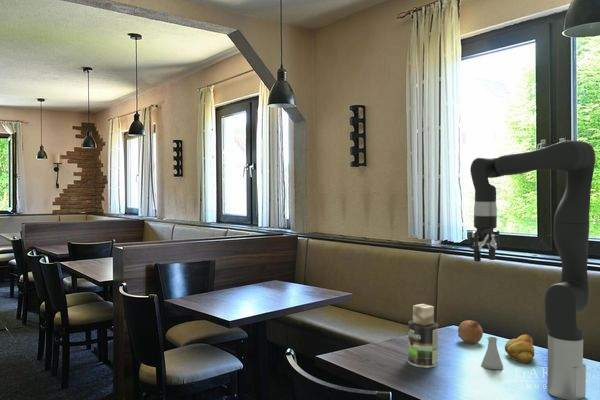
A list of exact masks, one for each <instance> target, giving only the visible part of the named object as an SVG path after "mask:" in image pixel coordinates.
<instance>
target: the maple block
mask: <svg viewBox="0 0 600 400" xmlns="http://www.w3.org/2000/svg"><path fill="white" fill-rule="evenodd" d="M434 308H435V306H433V305H430V304H426V303H420V304H419V303H418V304H415V305H412V320H413V323H417V324H420V325H424V326H425V325H429V324H433V323H434V322H435V321H434V319H435V317H434V316H435V315H434V314H435V313H434V311H435V310H434Z"/></svg>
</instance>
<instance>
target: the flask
mask: <svg viewBox="0 0 600 400" xmlns="http://www.w3.org/2000/svg"><path fill="white" fill-rule="evenodd" d="M487 340H488V341H487V349H486V351H485V354H484V357H483V359H482V361H481V366H482V367H483V368H484V369H490V370H503V368H504V365H503V362H502V359H501V357H500V353H499V350H498V345H497V344H498V343H497V342H498V337H496V336H488V337H487Z"/></svg>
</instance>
